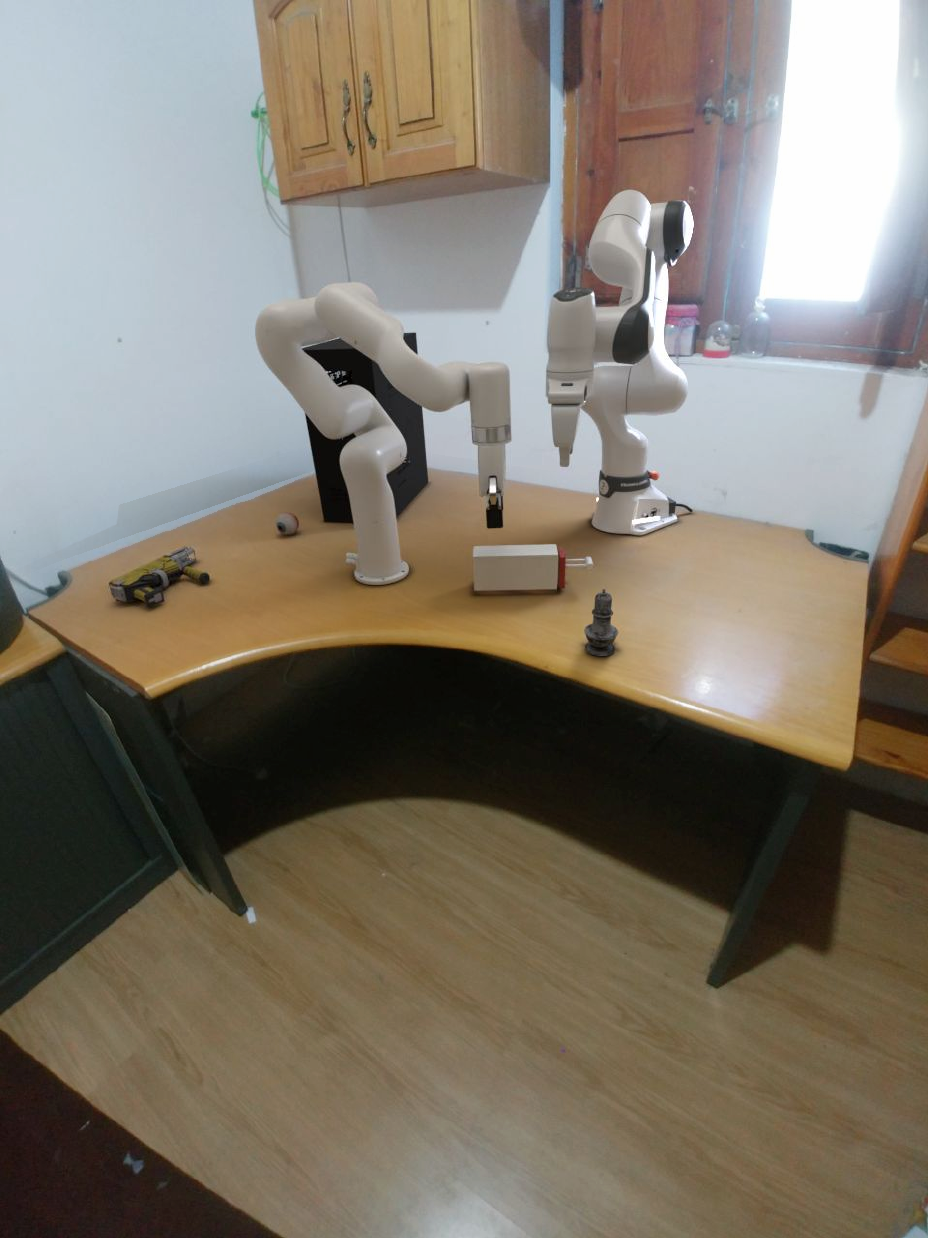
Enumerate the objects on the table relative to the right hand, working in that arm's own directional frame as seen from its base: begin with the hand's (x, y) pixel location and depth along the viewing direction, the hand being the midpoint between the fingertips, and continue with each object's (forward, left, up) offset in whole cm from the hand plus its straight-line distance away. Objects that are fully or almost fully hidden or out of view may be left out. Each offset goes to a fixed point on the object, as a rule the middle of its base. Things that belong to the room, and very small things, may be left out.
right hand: (566, 459), depth 120 cm
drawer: (+7, +1, -26) cm, 26 cm away
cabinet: (+11, -1, -26) cm, 29 cm away
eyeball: (+49, -60, -26) cm, 82 cm away
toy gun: (+79, -43, -26) cm, 93 cm away
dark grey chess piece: (+10, +27, -26) cm, 39 cm away
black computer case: (+19, -74, -26) cm, 80 cm away
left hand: (+15, -3, -10) cm, 18 cm away
